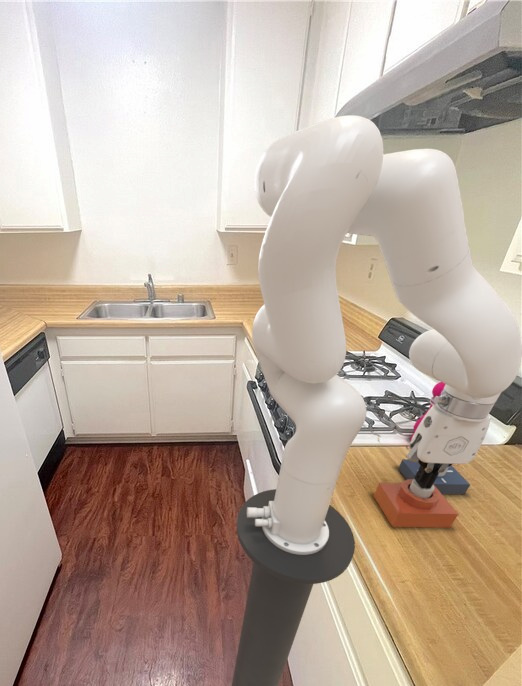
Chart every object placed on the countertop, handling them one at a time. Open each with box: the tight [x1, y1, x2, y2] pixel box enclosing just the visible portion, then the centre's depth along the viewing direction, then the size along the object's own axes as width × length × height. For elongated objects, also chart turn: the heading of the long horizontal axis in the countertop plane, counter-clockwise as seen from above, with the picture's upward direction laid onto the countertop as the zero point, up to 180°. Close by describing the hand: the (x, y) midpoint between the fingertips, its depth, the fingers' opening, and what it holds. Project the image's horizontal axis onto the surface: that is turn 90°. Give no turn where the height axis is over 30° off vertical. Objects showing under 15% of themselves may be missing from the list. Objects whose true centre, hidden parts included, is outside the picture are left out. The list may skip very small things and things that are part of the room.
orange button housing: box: [373, 479, 459, 529], centre depth 73 cm, size 12×9×6 cm
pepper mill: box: [410, 381, 446, 442], centre depth 91 cm, size 7×7×20 cm
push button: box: [409, 479, 435, 498], centre depth 71 cm, size 4×4×2 cm
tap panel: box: [398, 458, 471, 495], centre depth 82 cm, size 11×9×3 cm
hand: (421, 483), depth 70 cm, fingers closed
